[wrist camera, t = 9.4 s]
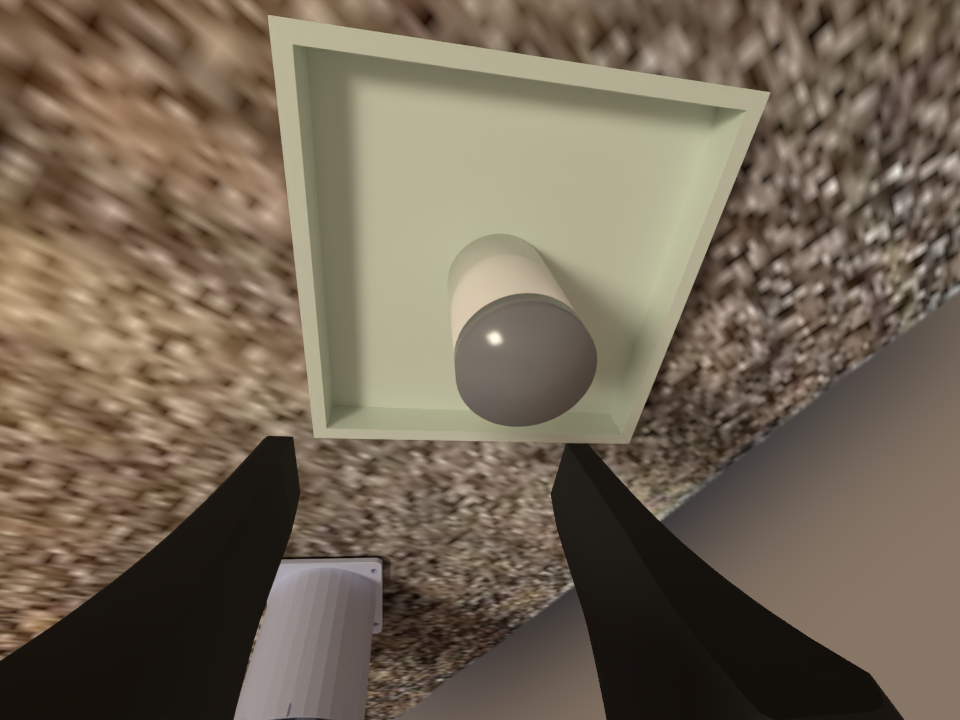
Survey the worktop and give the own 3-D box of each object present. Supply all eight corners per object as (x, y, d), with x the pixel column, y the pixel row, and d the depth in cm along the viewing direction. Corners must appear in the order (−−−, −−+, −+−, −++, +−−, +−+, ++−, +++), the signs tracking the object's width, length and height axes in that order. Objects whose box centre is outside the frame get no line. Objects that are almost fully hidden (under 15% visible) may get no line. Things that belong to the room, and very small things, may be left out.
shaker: (540, 326, 21) (585, 423, 15) (448, 328, 20) (455, 429, 14) (551, 233, 18) (609, 306, 12) (446, 233, 18) (454, 309, 12)
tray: (612, 413, 25) (629, 443, 23) (324, 404, 23) (314, 437, 21) (727, 91, 17) (770, 92, 15) (291, 24, 14) (267, 14, 12)
